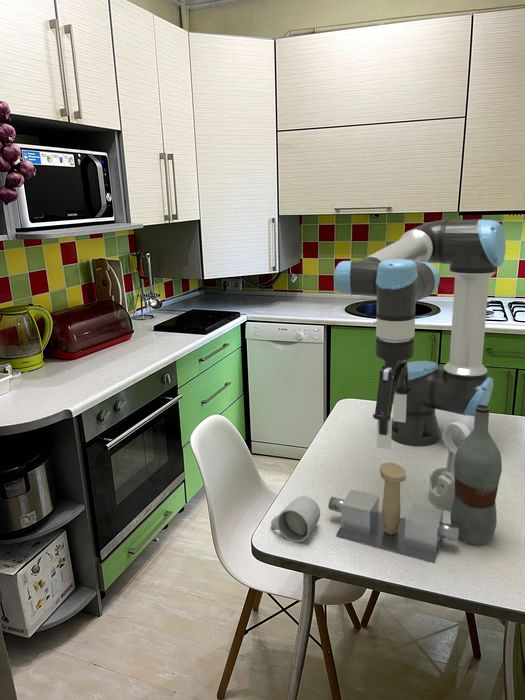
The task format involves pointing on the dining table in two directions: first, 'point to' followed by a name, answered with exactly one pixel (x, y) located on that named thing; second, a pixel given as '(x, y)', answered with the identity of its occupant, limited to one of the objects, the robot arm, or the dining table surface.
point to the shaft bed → (413, 532)
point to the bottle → (476, 483)
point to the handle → (391, 496)
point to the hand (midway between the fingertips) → (392, 433)
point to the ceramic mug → (297, 519)
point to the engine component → (446, 470)
